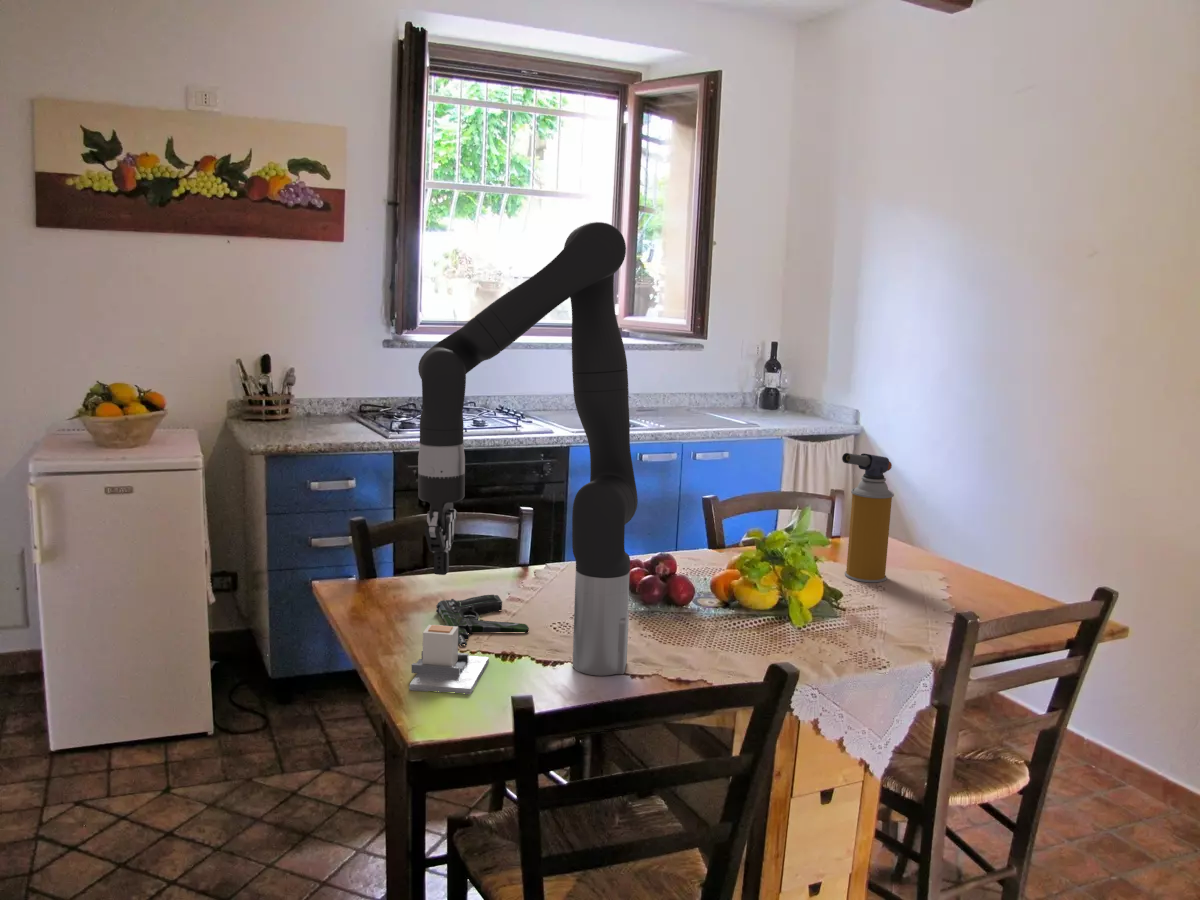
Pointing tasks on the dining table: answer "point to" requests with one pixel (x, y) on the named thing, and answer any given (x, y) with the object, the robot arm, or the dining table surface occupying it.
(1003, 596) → the dining table surface
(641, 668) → the dining table surface
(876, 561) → the blowtorch
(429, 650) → the block
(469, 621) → the pistol
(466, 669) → the rail panel
